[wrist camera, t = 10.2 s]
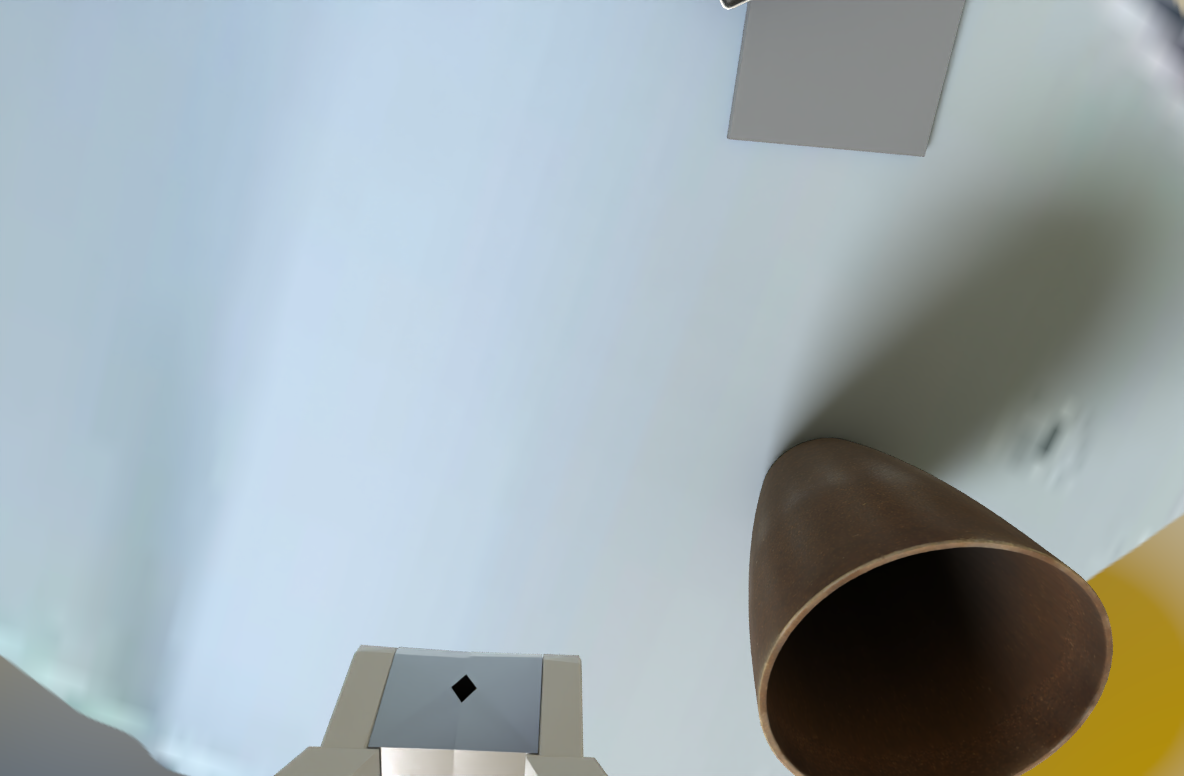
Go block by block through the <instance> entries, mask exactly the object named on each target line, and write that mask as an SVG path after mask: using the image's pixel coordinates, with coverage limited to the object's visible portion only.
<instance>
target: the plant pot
mask: <svg viewBox="0 0 1184 776" xmlns="http://www.w3.org/2000/svg"><path fill="white" fill-rule="evenodd" d="M749 629H750V643H751V655H752V664H753V673H754V681H755V689H756V696H757V704H758V711H759V718H760V723H761V726H762V729H763V732H764V735H765V738H766V740H767V742H768V744H769V746H770V748H771V749H772V751H773V752H774V754H775V755H776V757H777V758H778V759H779V760H780V761H781V763H782V764H783V765H784V766H785V767H786V768H787V769H788V770H789V771H791V772H792V773H793V774H794V775H795V776H1020V775H1022V774H1024V773H1025V772H1027V771H1028V770H1030V769H1032V768H1034V767H1035V766H1037V765H1038V764H1040V763H1041V762H1042V761H1044V760H1045V759H1047V758H1048V757H1049V756H1051V755H1052V754H1053V753H1054V752H1056V751H1057V750H1058V749H1059V748H1060V747H1061V746H1062V745H1063V744H1064V743H1065V742H1067V741H1068V740H1069V739H1070V738H1071V737H1072V736H1073V735H1074V733H1075V732H1076V731H1077V730H1078V729H1079V728H1080V727H1081V726H1082V724H1083V723H1084V722H1085V720H1086V719H1087V718H1088V716H1089V715H1090V713H1091V712H1092V711H1093V709H1094V707H1095V706H1096V704H1097V703H1098V700H1099V698H1100V696H1101V695H1102V692H1103V690H1104V687H1105V684H1106V682H1107V680H1108V676H1109V671H1110V668H1111V662H1112V654H1113V644H1112V643H1113V642H1112V632H1111V627H1110V623H1109V619H1108V616H1107V613H1106V610H1105V608H1104V606H1103V604H1102V602H1101V601H1100V599H1099V598H1098V596H1097V594H1096V593H1095V591H1094V590H1093V589H1092V588H1091V586H1090V585H1089V584H1088V583H1087V582H1086V581H1085V580H1084V579H1083V578H1082V577H1081V576H1080V575H1079V574H1077V573H1076V572H1075V571H1074V570H1072V569H1071V568H1070V567H1068V566H1067V565H1066V564H1064V563H1063V562H1062V561H1060V560H1059V559H1058V558H1056V557H1055V556H1054V555H1052V554H1051V553H1049V552H1048V551H1047V550H1045V549H1044V548H1043V547H1041V546H1040V545H1039V544H1037V543H1036V542H1035V541H1033V540H1032V539H1031V538H1029V537H1028V536H1026V535H1025V534H1024V533H1022V532H1021V531H1019V530H1018V529H1017V528H1015V527H1014V526H1012V525H1011V524H1010V523H1008V522H1007V521H1005V520H1004V519H1003V518H1001V517H1000V516H998V515H997V514H995V513H994V512H992V511H991V510H989V509H988V508H986V507H985V506H983V505H982V504H980V503H978V502H977V501H975V500H974V499H972V498H970V497H969V496H967V495H966V494H964V493H962V492H961V491H959V490H957V489H956V488H954V487H952V486H951V485H949V484H947V483H945V482H943V481H942V480H940V479H938V478H936V477H934V476H933V475H931V474H929V473H927V472H925V471H923V470H921V469H919V468H917V467H915V466H912V465H910V464H908V463H906V462H904V461H902V460H899V459H897V458H895V457H893V456H890V455H888V454H885V453H883V452H880V451H878V450H875V449H872V448H870V447H867V446H863V445H860V444H857V443H854V442H851V441H847V440H843V439H838V438H820V439H814V440H810V441H807V442H804V443H801V444H799V445H797V446H795V447H793V448H791V449H790V450H788V451H787V452H785V453H784V454H783V455H782V456H781V457H779V458H778V459H777V460H776V461H775V463H774V464H773V465H772V467H771V468H770V469H769V471H768V473H767V474H766V477H765V479H764V482H763V485H762V488H761V492H760V496H759V500H758V504H757V509H756V514H755V519H754V526H753V532H752V541H751V550H750V564H749Z"/></svg>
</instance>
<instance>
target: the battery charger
mask: <svg viewBox="0 0 1184 776" xmlns="http://www.w3.org/2000/svg"><path fill="white" fill-rule="evenodd" d="M748 1H750V0H720V2H721V5H722V6H723V8H725V9H727V10H728V9H733V8H735V7H737V6H739V5H741V4H743V3H746V2H748Z"/></svg>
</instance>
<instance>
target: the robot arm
mask: <svg viewBox="0 0 1184 776" xmlns="http://www.w3.org/2000/svg"><path fill="white" fill-rule="evenodd" d="M274 776H608V775H607V774H606V773H605V771H604V770H603V768H602V767H601V766H600V764H599V763H598V762H597V760H596V759H595V758H591V757H583V717H582V669H581V659H580V657H579V655H554V654H544V655H543V659H542V654H520V653H494V652H462V651H449V650H435V649H421V648H407V647H399V648H394V647H381V646H368V645H361V646H360V647H359V648H358V650H357V651H356V652H355V654H354V656H353V659H352V661H351V664H350V667H349V670H348V672H347V675H346V678H345V681H344V683H343V686H342V689H341V692H340V694H339V697H338V700H337V703H336V705H335V708H334V711H333V714H332V716H331V719H330V722H329V725H328V727H327V730H326V733H325V736H324V738H323V741H322V744H321V747H307V748H306V749H305V750H304V751H303V752H301V753H300V754H299V755H298V756H297V757H296V758H294V759H293V760H292V761H291V762H290V763H288V764H287V765H286V766H285V767H284V768H282V769H281V770H280V771H279V772H278V773H276V774H275V775H274Z"/></svg>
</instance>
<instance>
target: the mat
mask: <svg viewBox="0 0 1184 776" xmlns="http://www.w3.org/2000/svg"><path fill="white" fill-rule="evenodd" d="M964 3H965V0H750V1H748V4H747V11H746V17H745V24H744V30H743V37H742V43H741V50H740V56H739V63H738V69H737V76H736V82H735V89H734V95H733V102H732V108H731V115H730V121H729V128H728V134H727V138H728V139H733V140H744V141H755V142H766V143H777V144H788V145H799V146H811V147H822V148H833V149H844V150H855V151H866V152H877V153H888V154H900V155H911V156H922V157H924V156H925V152H926V149H927V145H928V141H929V137H930V133H931V129H932V126H933V122H934V118H935V114H936V110H937V106H938V102H939V99H940V95H941V91H942V87H943V83H944V79H945V76H946V72H947V68H948V64H949V60H950V56H951V53H952V49H953V45H954V41H955V37H956V33H957V30H958V26H959V22H960V18H961V14H962V10H963V6H964Z"/></svg>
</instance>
